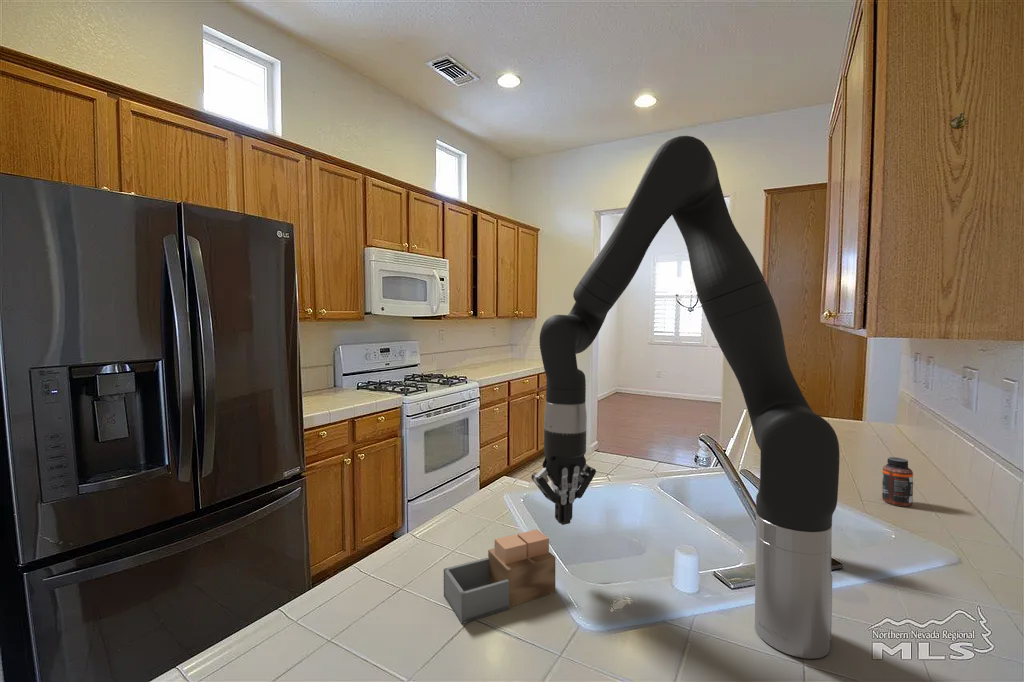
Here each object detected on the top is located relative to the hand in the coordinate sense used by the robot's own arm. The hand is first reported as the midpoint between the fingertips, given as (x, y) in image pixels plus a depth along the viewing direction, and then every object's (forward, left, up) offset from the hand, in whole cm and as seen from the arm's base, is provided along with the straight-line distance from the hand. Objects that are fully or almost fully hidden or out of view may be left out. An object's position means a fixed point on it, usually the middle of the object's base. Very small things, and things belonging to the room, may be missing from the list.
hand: (563, 522), depth 81 cm
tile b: (+11, 0, -4) cm, 11 cm away
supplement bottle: (-95, +11, -10) cm, 96 cm away
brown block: (+9, 0, -10) cm, 13 cm away
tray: (+17, 0, -10) cm, 20 cm away
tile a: (+6, 0, -4) cm, 7 cm away
